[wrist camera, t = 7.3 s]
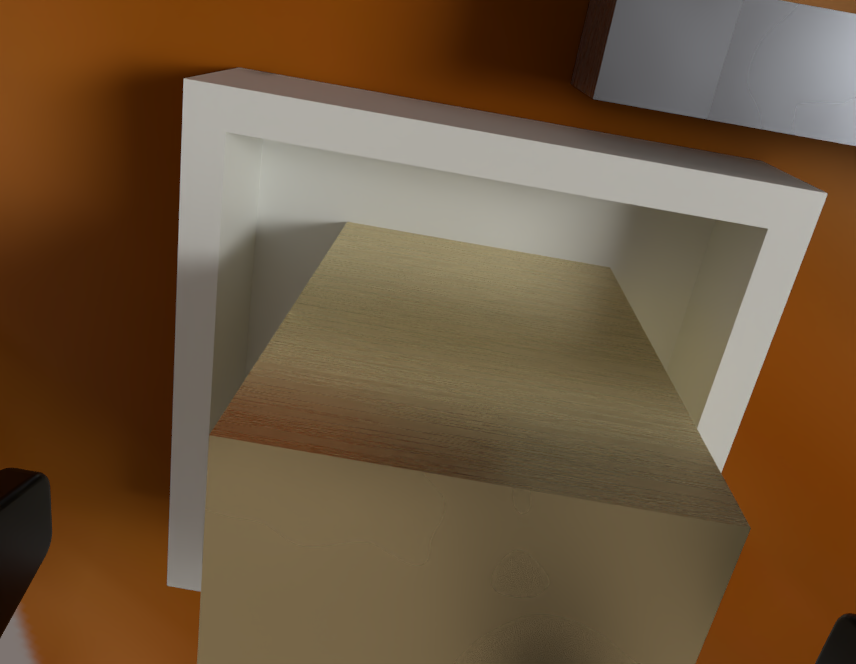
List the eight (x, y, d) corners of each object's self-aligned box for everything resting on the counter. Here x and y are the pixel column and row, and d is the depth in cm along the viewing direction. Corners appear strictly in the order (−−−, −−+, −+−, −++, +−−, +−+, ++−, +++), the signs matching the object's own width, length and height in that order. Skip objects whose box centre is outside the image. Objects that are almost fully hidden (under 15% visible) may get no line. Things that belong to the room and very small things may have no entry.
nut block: (550, 487, 14) (610, 870, 8) (319, 447, 14) (189, 799, 8) (610, 267, 13) (749, 528, 6) (347, 221, 12) (209, 434, 6)
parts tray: (621, 573, 16) (646, 669, 13) (212, 502, 16) (166, 585, 13) (761, 160, 12) (827, 193, 10) (239, 67, 12) (183, 78, 10)
